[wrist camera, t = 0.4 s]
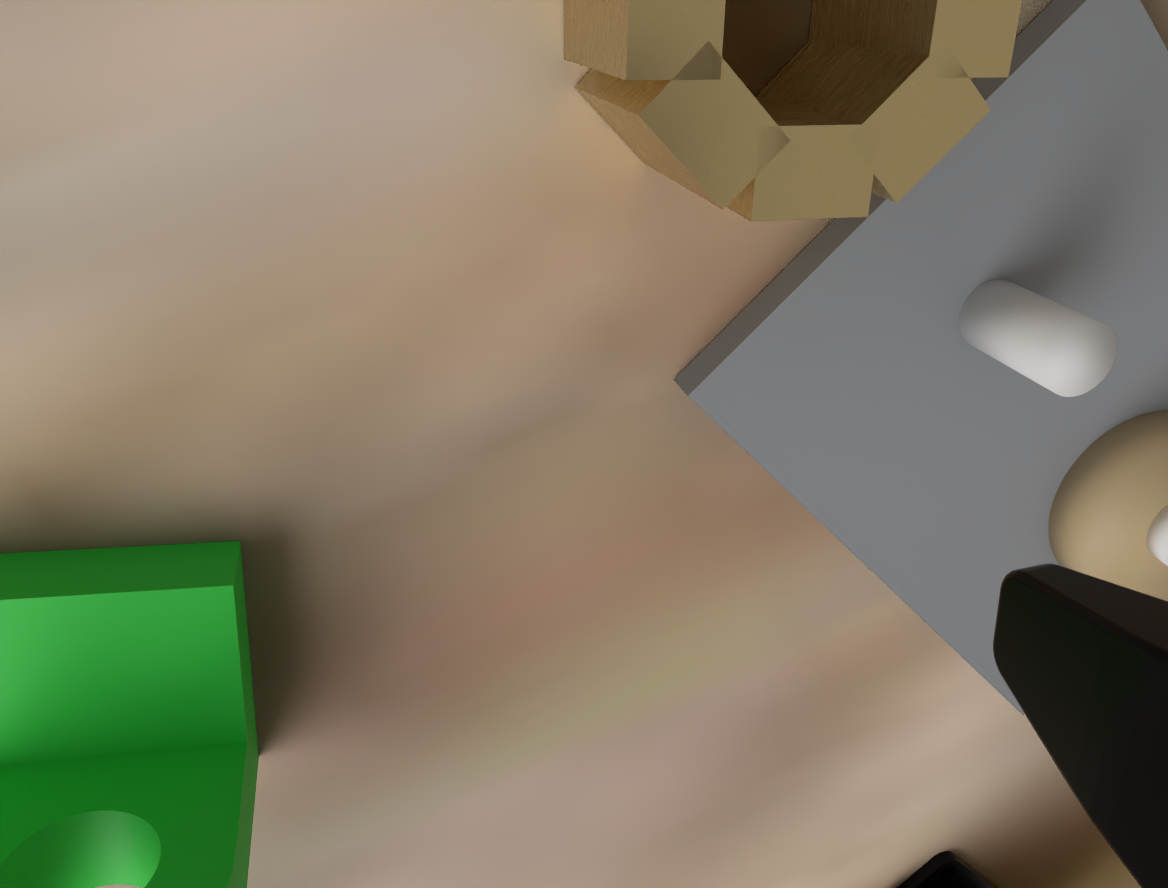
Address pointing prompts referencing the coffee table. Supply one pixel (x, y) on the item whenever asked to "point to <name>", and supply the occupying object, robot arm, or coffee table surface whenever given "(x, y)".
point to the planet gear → (793, 97)
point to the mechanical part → (126, 718)
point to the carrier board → (894, 345)
